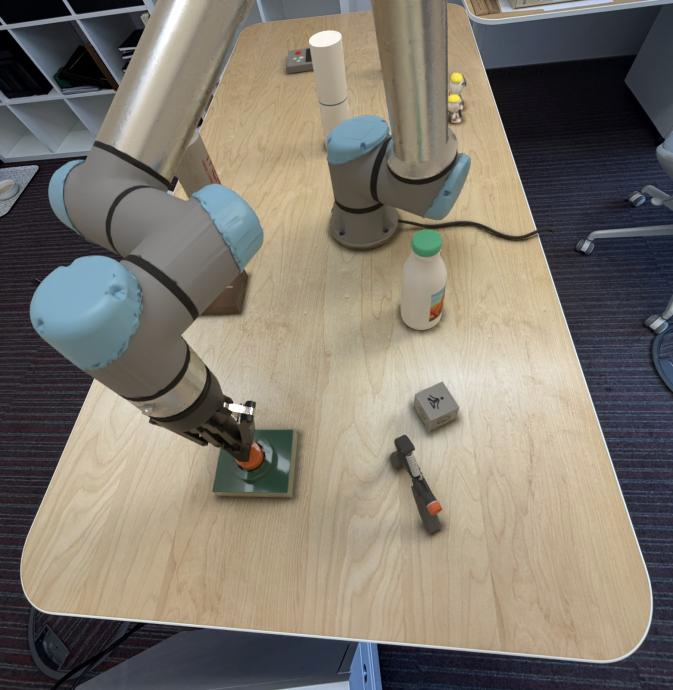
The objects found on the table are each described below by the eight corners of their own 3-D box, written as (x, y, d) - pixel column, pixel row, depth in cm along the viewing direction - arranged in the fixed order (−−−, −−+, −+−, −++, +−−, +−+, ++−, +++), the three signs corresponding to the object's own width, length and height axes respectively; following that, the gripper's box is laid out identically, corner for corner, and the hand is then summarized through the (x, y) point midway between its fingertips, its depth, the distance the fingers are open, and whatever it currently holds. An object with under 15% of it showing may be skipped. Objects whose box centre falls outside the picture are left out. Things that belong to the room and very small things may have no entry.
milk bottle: (414, 338, 77) (419, 265, 60) (392, 309, 81) (391, 234, 64) (449, 319, 78) (464, 243, 61) (426, 292, 82) (433, 213, 65)
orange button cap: (265, 444, 65) (261, 440, 63) (262, 470, 63) (258, 467, 61) (241, 444, 65) (236, 440, 64) (236, 470, 63) (232, 466, 62)
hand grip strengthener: (428, 537, 59) (437, 522, 47) (388, 459, 66) (386, 427, 53) (442, 530, 60) (455, 513, 47) (401, 452, 66) (402, 419, 53)
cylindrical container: (321, 151, 110) (303, 46, 88) (331, 135, 113) (316, 29, 91) (346, 155, 107) (334, 47, 86) (356, 138, 111) (346, 31, 89)
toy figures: (461, 125, 108) (466, 92, 101) (444, 125, 109) (447, 92, 102) (463, 99, 114) (468, 66, 107) (447, 99, 115) (450, 67, 107)
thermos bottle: (240, 213, 101) (192, 96, 77) (230, 236, 97) (176, 121, 73) (211, 211, 103) (155, 97, 79) (200, 234, 99) (137, 121, 75)
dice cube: (413, 406, 70) (414, 394, 66) (439, 394, 70) (442, 381, 66) (428, 431, 67) (430, 420, 63) (455, 418, 68) (459, 407, 64)
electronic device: (287, 49, 136) (332, 43, 135) (289, 58, 138) (333, 51, 137) (286, 65, 131) (333, 59, 129) (288, 74, 133) (334, 67, 131)
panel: (247, 276, 90) (243, 267, 88) (240, 313, 85) (236, 305, 83) (191, 278, 92) (186, 271, 89) (181, 315, 87) (175, 308, 84)
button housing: (297, 435, 70) (291, 425, 66) (292, 497, 65) (284, 490, 60) (230, 435, 71) (219, 425, 67) (219, 495, 66) (207, 489, 62)
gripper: (101, 420, 41) (198, 477, 61) (227, 420, 39) (285, 478, 59) (124, 354, 44) (209, 428, 65) (240, 351, 43) (290, 428, 63)
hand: (245, 452), depth 62 cm, fingers closed
